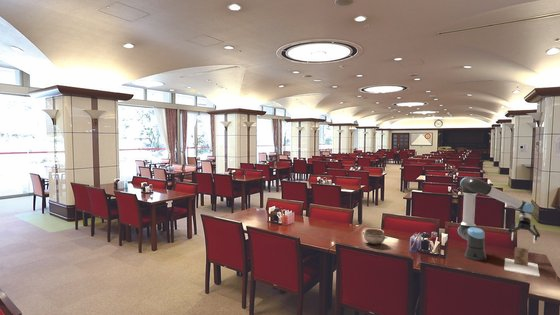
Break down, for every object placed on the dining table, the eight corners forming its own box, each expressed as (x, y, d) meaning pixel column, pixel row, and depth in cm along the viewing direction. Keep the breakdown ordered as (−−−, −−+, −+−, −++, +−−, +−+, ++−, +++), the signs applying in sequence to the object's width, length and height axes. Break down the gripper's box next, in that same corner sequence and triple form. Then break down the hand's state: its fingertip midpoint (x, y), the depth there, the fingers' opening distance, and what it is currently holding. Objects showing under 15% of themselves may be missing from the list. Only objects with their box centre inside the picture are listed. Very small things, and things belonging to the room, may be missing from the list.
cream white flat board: (539, 277, 214) (539, 276, 214) (504, 270, 227) (504, 269, 227) (537, 265, 237) (537, 264, 237) (505, 259, 249) (505, 258, 249)
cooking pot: (391, 244, 286) (391, 231, 285) (382, 249, 272) (382, 235, 271) (366, 238, 303) (366, 226, 302) (357, 243, 289) (357, 230, 289)
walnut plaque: (514, 263, 238) (514, 248, 237) (514, 262, 241) (515, 246, 240) (527, 266, 232) (527, 250, 232) (527, 264, 235) (528, 249, 235)
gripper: (544, 224, 248) (543, 247, 237) (506, 219, 265) (503, 240, 254) (544, 219, 244) (543, 242, 233) (505, 214, 261) (503, 236, 250)
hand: (522, 241), depth 244 cm, fingers open, 13 cm apart
